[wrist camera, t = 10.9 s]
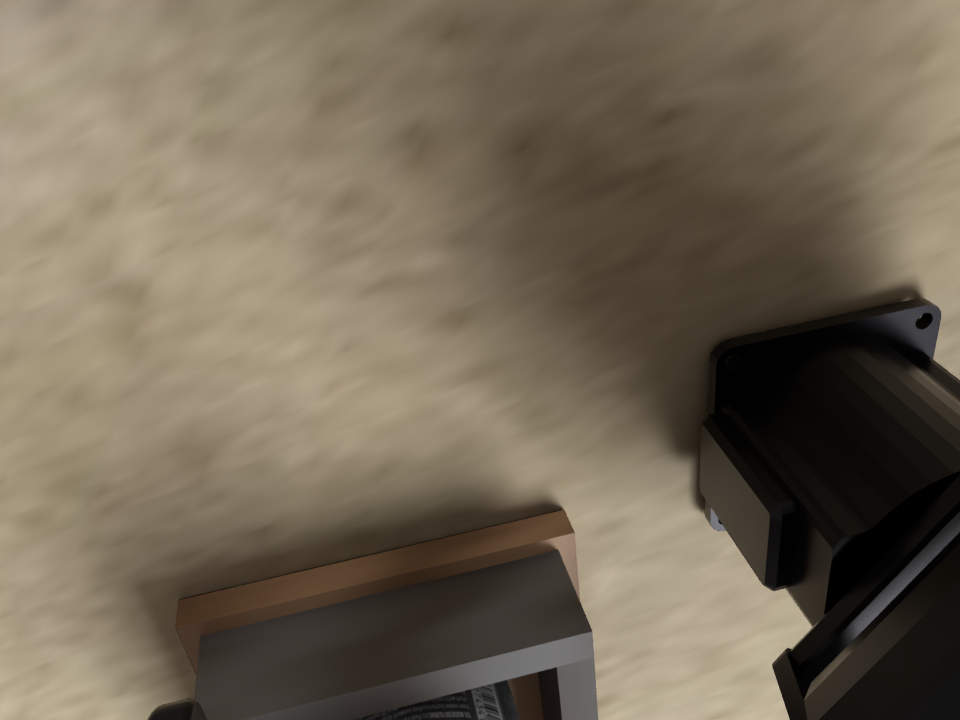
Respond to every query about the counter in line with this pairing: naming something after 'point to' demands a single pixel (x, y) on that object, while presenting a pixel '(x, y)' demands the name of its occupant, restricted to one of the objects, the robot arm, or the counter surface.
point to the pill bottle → (459, 706)
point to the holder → (402, 631)
